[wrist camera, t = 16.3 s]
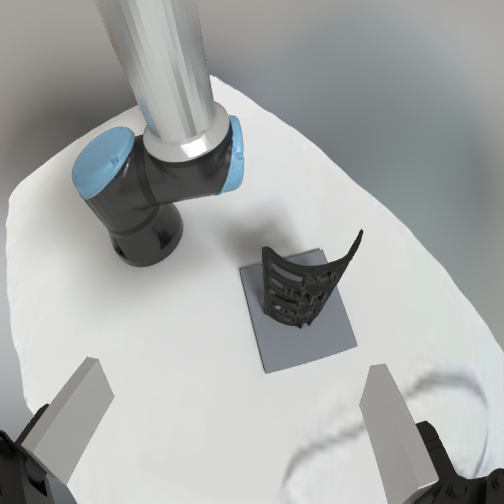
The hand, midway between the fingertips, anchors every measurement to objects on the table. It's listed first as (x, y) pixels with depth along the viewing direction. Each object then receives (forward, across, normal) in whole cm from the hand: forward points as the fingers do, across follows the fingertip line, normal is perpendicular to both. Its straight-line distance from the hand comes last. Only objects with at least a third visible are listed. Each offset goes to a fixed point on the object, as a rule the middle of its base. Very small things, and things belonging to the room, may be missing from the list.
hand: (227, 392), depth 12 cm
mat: (+31, +7, -13) cm, 34 cm away
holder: (+31, +7, -12) cm, 34 cm away
